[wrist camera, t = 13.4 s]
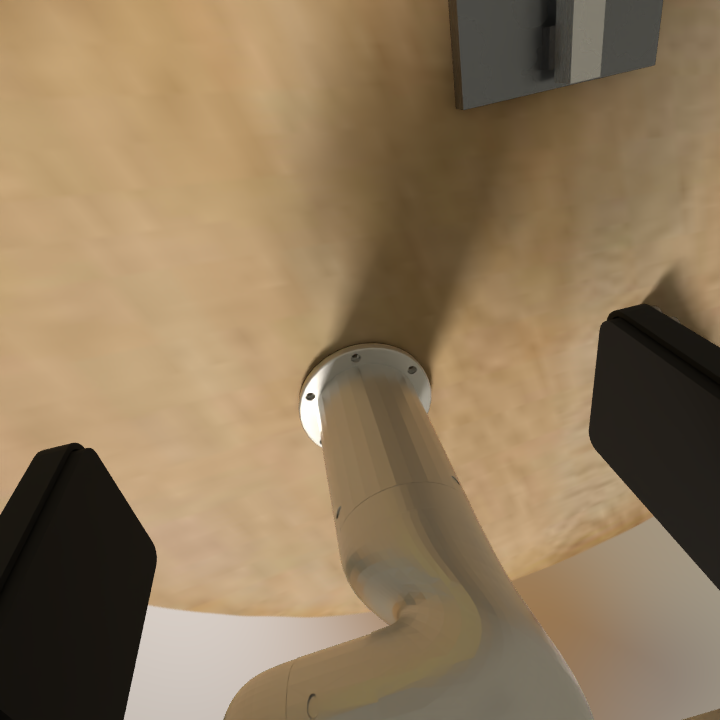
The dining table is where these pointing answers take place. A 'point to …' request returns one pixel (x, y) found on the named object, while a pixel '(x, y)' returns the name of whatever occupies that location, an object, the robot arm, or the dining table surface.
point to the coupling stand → (546, 44)
